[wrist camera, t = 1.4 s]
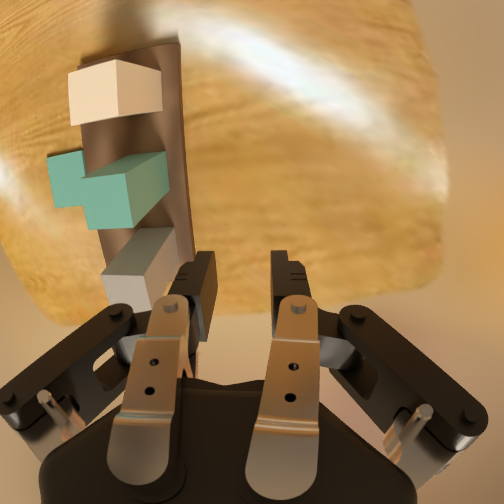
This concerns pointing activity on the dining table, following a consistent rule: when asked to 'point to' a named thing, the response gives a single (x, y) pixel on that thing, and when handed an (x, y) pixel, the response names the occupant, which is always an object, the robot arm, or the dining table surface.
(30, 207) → the dining table surface
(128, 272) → the tall grey rectangular prism
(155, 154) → the tall teal pillar
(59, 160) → the pad
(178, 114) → the dark wooden board
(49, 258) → the dining table surface
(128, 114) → the cream tall rectangular block
